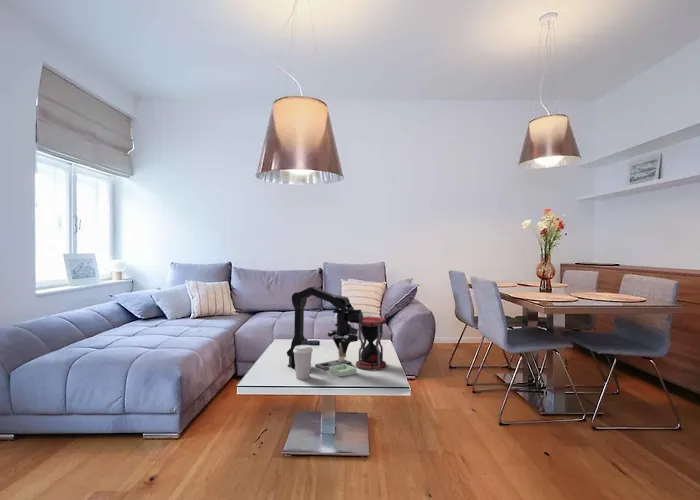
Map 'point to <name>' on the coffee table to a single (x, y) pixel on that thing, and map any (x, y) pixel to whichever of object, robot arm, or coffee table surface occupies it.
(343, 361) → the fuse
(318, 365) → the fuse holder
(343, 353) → the fuse
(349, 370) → the parts tray
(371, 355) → the hourglass
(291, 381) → the coffee table surface
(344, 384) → the coffee table surface
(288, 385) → the coffee table surface
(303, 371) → the coffee cup
